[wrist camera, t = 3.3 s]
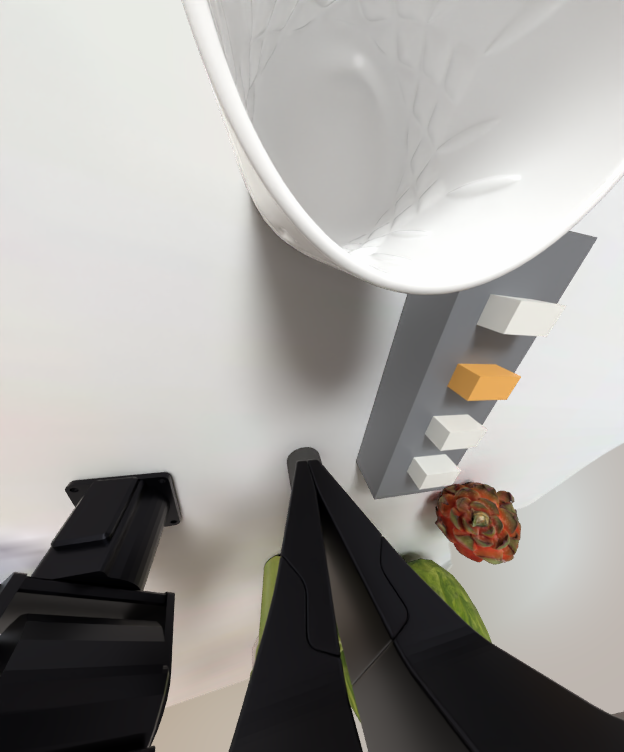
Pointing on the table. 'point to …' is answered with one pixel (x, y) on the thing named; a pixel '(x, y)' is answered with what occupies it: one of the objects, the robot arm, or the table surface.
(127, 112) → the table surface
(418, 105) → the white cup
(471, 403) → the breaker strip
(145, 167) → the table surface
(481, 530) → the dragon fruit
